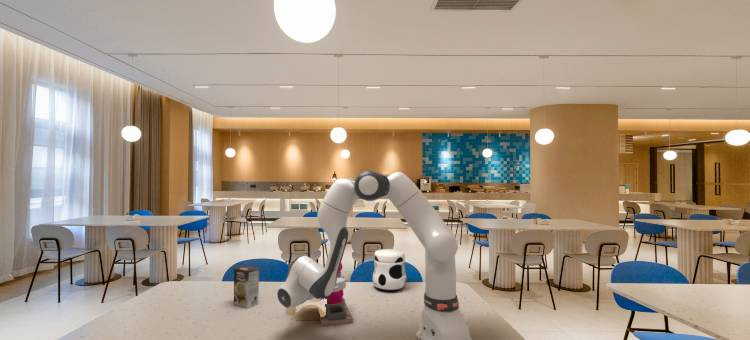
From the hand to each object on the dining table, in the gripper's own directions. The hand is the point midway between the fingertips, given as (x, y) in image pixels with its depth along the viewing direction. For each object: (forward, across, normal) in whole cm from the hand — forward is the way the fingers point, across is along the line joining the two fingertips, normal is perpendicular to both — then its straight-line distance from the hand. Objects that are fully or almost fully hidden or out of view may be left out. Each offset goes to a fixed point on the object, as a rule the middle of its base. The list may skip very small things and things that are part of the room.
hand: (333, 276), depth 143 cm
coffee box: (-15, +36, +14) cm, 42 cm away
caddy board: (-4, -3, +14) cm, 15 cm away
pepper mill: (-1, -1, +12) cm, 12 cm away
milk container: (+36, -9, +14) cm, 40 cm away
